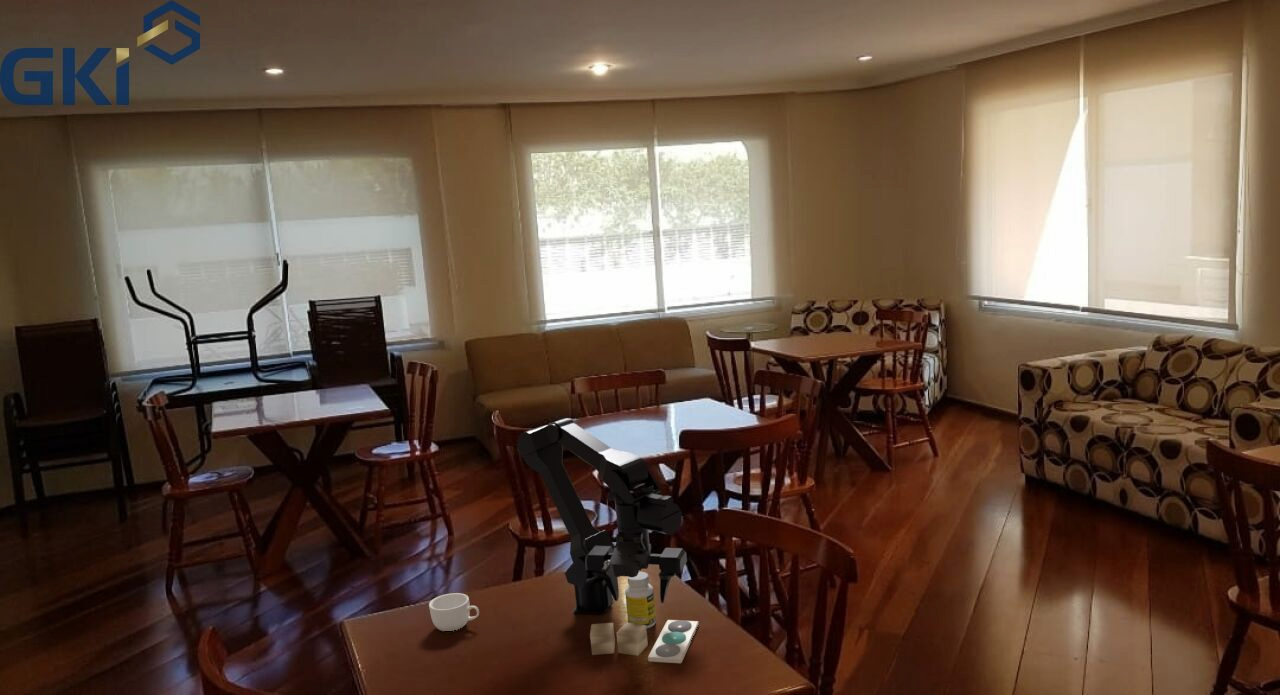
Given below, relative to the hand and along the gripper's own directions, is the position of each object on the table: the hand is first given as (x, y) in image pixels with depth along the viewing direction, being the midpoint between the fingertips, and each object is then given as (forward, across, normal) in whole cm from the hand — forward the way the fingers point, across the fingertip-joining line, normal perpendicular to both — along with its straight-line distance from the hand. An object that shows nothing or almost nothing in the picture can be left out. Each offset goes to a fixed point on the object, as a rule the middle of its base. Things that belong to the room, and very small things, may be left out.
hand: (639, 601), depth 173 cm
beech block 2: (+5, +1, -10) cm, 11 cm away
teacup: (+5, -37, -5) cm, 38 cm away
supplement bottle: (+5, 0, 0) cm, 5 cm away
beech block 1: (+5, -4, -10) cm, 12 cm away
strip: (+5, +8, -7) cm, 11 cm away
